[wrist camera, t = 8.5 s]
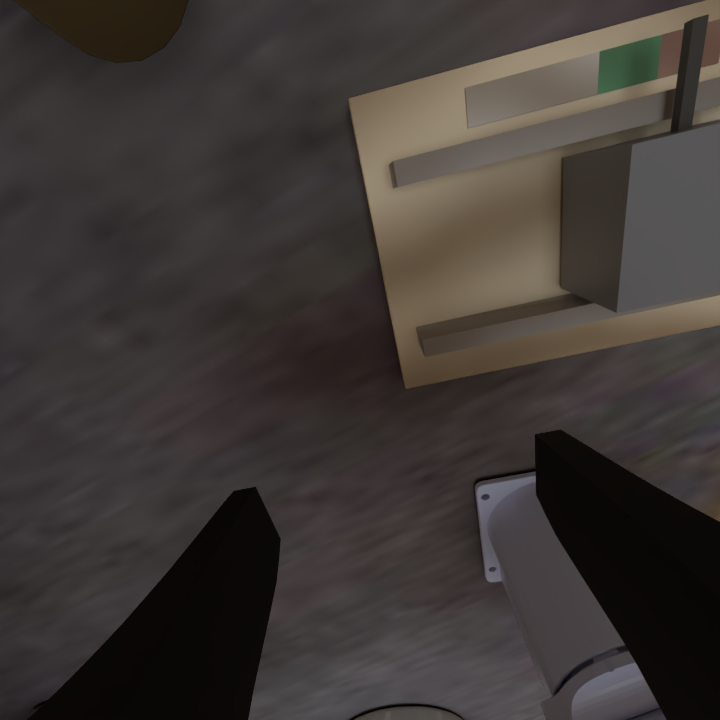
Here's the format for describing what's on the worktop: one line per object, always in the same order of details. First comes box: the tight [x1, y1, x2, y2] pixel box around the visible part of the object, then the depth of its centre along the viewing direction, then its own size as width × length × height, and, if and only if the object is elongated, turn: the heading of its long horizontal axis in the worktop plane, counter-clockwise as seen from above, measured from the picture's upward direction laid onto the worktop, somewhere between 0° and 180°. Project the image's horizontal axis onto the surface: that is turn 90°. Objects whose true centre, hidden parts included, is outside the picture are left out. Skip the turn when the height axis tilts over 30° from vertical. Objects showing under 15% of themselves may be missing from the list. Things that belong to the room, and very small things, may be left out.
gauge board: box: [348, 0, 720, 389], centre depth 14 cm, size 12×19×3 cm, turn 103°
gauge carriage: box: [561, 14, 720, 313], centre depth 12 cm, size 8×5×4 cm, turn 13°
